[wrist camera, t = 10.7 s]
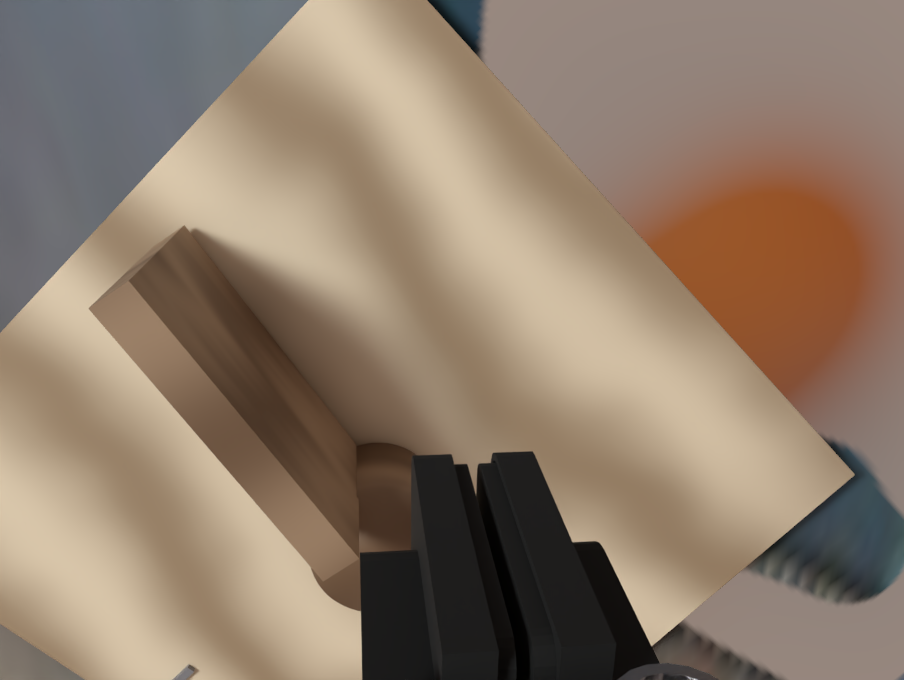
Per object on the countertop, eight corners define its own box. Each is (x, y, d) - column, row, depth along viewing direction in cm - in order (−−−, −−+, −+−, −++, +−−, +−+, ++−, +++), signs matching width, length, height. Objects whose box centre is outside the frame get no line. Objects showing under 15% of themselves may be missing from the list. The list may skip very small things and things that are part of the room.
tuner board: (368, -60, 26) (368, -66, 25) (838, 460, 34) (857, 477, 33) (-148, 496, 30) (-171, 516, 29) (380, 849, 38) (381, 877, 36)
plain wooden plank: (113, 274, 27) (35, 344, 20) (225, 196, 27) (183, 243, 20) (506, 745, 35) (542, 906, 28) (597, 690, 34) (655, 841, 28)
